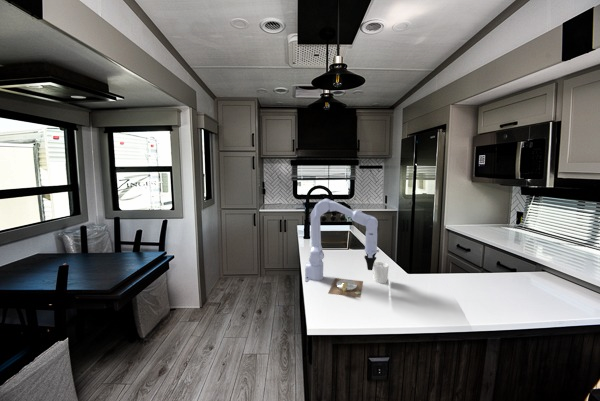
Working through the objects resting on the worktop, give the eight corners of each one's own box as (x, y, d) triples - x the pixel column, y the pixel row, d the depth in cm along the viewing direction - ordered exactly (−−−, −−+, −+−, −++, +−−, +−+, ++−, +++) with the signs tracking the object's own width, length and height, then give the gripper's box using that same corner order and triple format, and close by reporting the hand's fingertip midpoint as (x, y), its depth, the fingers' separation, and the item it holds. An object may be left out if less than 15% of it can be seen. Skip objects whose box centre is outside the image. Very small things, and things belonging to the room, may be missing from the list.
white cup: (370, 284, 144) (371, 265, 142) (374, 278, 150) (374, 261, 149) (386, 287, 140) (387, 268, 139) (389, 281, 147) (389, 263, 146)
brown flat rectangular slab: (328, 295, 130) (328, 292, 130) (334, 280, 149) (334, 276, 148) (360, 300, 126) (360, 296, 126) (363, 283, 144) (363, 280, 144)
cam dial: (338, 281, 143) (338, 271, 143) (357, 283, 140) (357, 273, 140) (333, 293, 129) (333, 282, 129) (354, 296, 127) (355, 285, 126)
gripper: (379, 245, 130) (378, 273, 132) (379, 238, 144) (378, 263, 145) (364, 244, 132) (363, 271, 134) (365, 237, 146) (365, 261, 147)
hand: (370, 267), depth 140 cm, fingers open, 7 cm apart
